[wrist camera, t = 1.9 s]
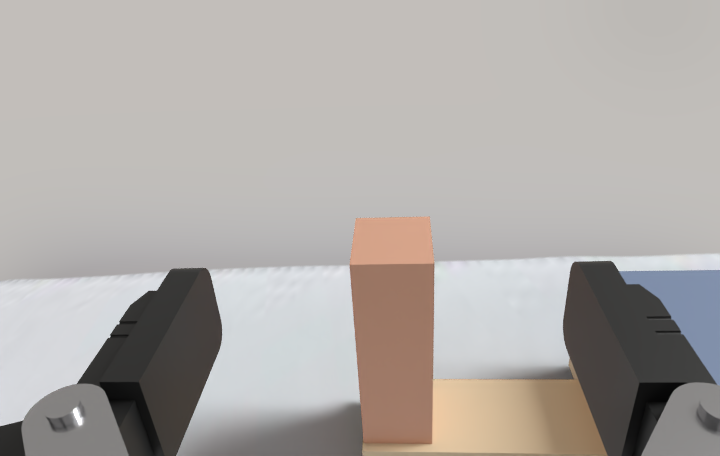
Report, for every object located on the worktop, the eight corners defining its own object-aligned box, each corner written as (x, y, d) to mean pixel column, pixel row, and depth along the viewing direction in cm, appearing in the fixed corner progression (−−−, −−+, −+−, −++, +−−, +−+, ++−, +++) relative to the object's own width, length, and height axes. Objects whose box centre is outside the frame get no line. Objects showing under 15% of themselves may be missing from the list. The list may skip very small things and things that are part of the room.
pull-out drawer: (360, 490, 27) (343, 298, 21) (368, 364, 35) (357, 196, 29) (861, 500, 25) (990, 292, 20) (756, 364, 33) (827, 185, 27)
